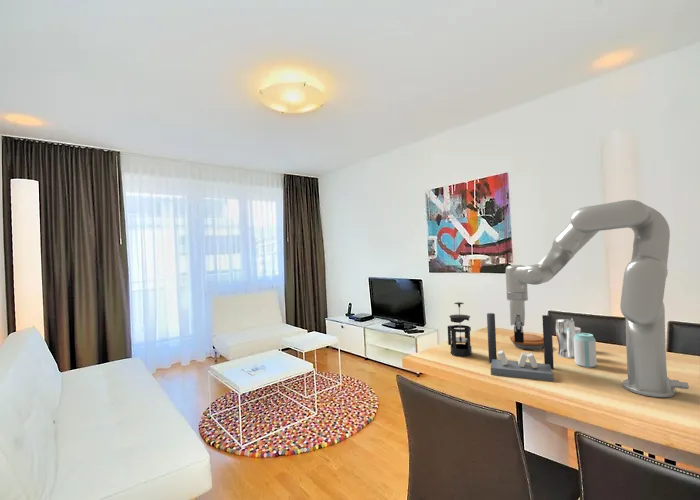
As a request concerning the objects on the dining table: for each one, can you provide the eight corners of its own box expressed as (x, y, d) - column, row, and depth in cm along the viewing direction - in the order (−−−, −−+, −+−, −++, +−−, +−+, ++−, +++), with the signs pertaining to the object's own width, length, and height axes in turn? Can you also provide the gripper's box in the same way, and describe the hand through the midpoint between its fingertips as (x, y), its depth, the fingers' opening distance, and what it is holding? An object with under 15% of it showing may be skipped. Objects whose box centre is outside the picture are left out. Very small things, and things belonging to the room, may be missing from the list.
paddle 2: (537, 363, 127) (532, 352, 128) (537, 367, 123) (532, 355, 124) (532, 365, 128) (527, 353, 128) (532, 368, 124) (527, 356, 125)
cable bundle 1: (497, 361, 141) (494, 313, 141) (496, 364, 138) (494, 314, 138) (489, 361, 142) (487, 313, 142) (488, 363, 139) (486, 314, 140)
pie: (507, 348, 159) (506, 338, 159) (513, 341, 172) (512, 331, 172) (545, 353, 150) (544, 341, 150) (548, 344, 163) (548, 334, 163)
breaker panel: (550, 370, 128) (549, 364, 128) (553, 381, 118) (552, 374, 118) (492, 365, 137) (492, 359, 137) (490, 374, 127) (490, 367, 127)
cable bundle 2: (553, 367, 132) (550, 315, 132) (554, 369, 129) (551, 316, 130) (544, 366, 133) (542, 315, 134) (545, 368, 131) (542, 316, 131)
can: (573, 361, 138) (572, 331, 138) (594, 363, 135) (593, 332, 135) (576, 367, 132) (574, 335, 132) (598, 369, 128) (597, 337, 129)
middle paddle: (523, 364, 129) (527, 353, 128) (523, 367, 125) (527, 356, 125) (518, 362, 130) (522, 351, 129) (518, 365, 126) (522, 354, 126)
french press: (478, 354, 152) (475, 302, 152) (464, 358, 147) (462, 305, 147) (456, 348, 162) (454, 300, 162) (443, 352, 156) (440, 302, 157)
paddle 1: (507, 361, 131) (502, 350, 132) (507, 364, 128) (502, 352, 128) (502, 362, 132) (498, 351, 133) (502, 365, 128) (497, 354, 129)
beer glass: (579, 358, 141) (577, 322, 141) (560, 358, 142) (559, 322, 143) (571, 353, 148) (570, 318, 148) (554, 353, 149) (552, 318, 149)
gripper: (507, 293, 146) (508, 333, 145) (506, 298, 130) (508, 344, 130) (526, 293, 142) (528, 334, 142) (528, 299, 127) (530, 345, 126)
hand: (519, 339), depth 136 cm, fingers open, 9 cm apart
